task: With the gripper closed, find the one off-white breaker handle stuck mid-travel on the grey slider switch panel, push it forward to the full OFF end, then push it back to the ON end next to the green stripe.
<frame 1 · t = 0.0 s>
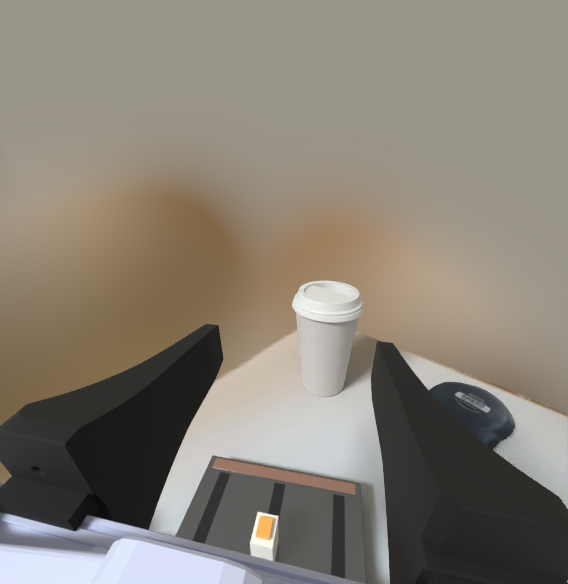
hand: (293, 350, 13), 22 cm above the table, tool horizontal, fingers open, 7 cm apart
coffee cup: (322, 382, 43), on the table
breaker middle: (265, 540, 21), point 4 cm above the table, slide at 4.0 cm
grey slider switch panel: (266, 569, 22), on the table
electronic device: (454, 429, 35), on the table
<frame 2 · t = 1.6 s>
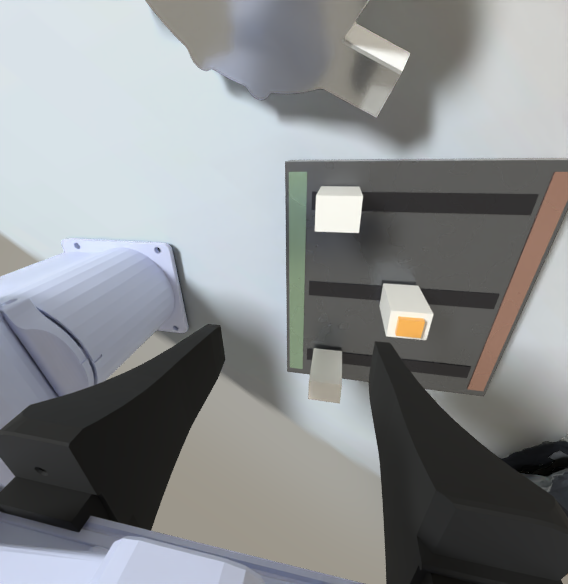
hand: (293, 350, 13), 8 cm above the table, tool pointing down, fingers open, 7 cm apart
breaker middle: (403, 311, 15), point 4 cm above the table, slide at 4.0 cm
grey slider switch panel: (392, 280, 19), on the table
electronic device: (556, 488, 26), on the table
breaker 2: (338, 207, 14), point 4 cm above the table, slide at 0.0 cm
breaker 1: (325, 374, 19), point 4 cm above the table, slide at 0.0 cm
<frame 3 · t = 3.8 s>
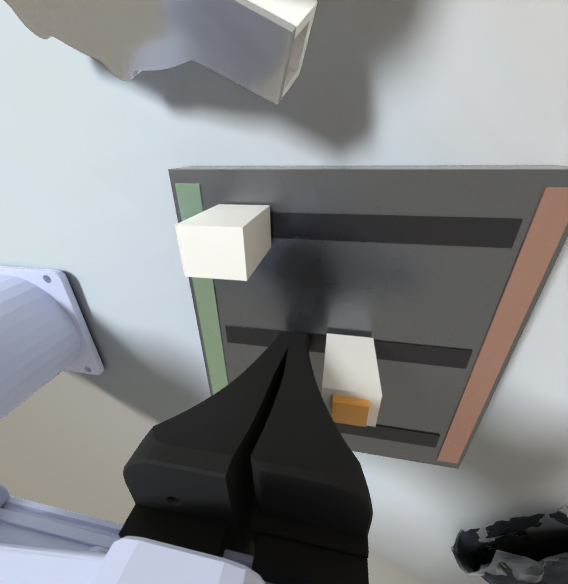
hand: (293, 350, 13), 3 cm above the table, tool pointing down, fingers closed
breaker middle: (348, 377, 11), point 4 cm above the table, slide at 4.4 cm, touching gripper
grey slider switch panel: (339, 321, 15), on the table
electronic device: (549, 557, 22), on the table
breaker 2: (231, 237, 9), point 4 cm above the table, slide at 0.0 cm
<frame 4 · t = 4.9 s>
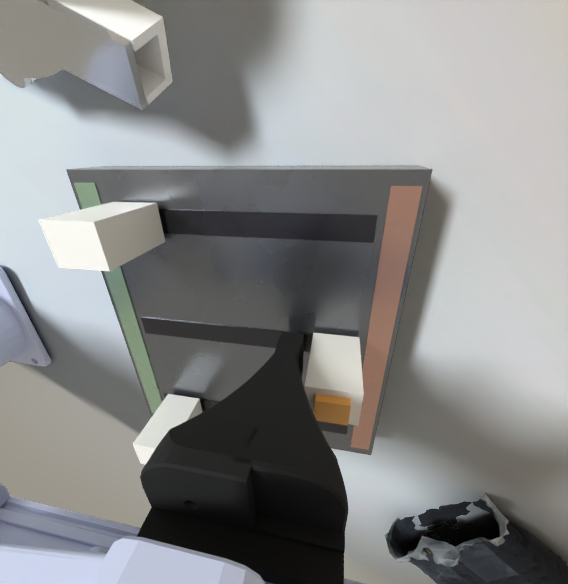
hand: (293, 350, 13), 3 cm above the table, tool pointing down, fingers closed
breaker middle: (333, 376, 11), point 4 cm above the table, slide at 8.4 cm, touching gripper
grey slider switch panel: (255, 314, 15), on the table
electronic device: (484, 545, 22), on the table
breaker 2: (111, 232, 10), point 4 cm above the table, slide at 0.0 cm
breaker 1: (171, 429, 15), point 4 cm above the table, slide at 0.0 cm
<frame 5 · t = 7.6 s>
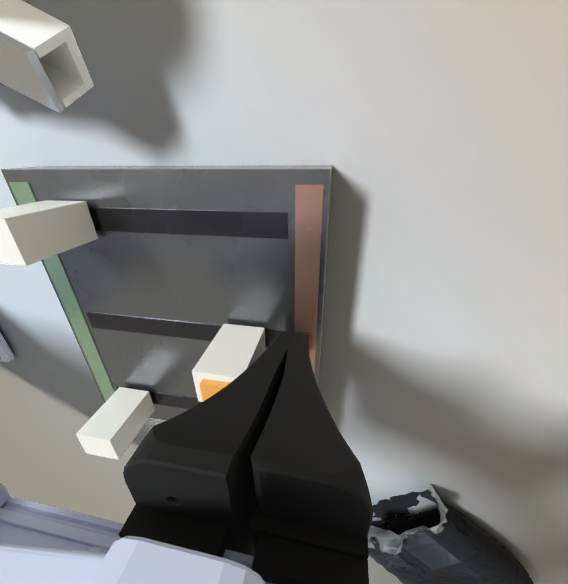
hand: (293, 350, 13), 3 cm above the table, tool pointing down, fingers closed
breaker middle: (232, 364, 12), point 4 cm above the table, slide at 7.4 cm, touching gripper
grey slider switch panel: (200, 309, 16), on the table
electronic device: (437, 536, 23), on the table
breaker 2: (37, 229, 11), point 4 cm above the table, slide at 0.0 cm
breaker 1: (119, 420, 16), point 4 cm above the table, slide at 0.0 cm
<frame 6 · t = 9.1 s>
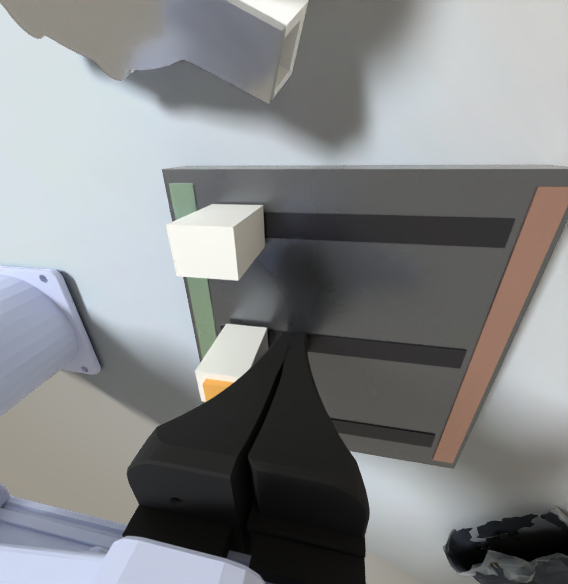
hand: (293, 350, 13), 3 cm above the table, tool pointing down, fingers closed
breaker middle: (235, 364, 12), point 4 cm above the table, slide at -0.1 cm, touching gripper
grey slider switch panel: (334, 321, 15), on the table
electronic device: (539, 557, 22), on the table
breaker 2: (223, 237, 9), point 4 cm above the table, slide at 0.0 cm
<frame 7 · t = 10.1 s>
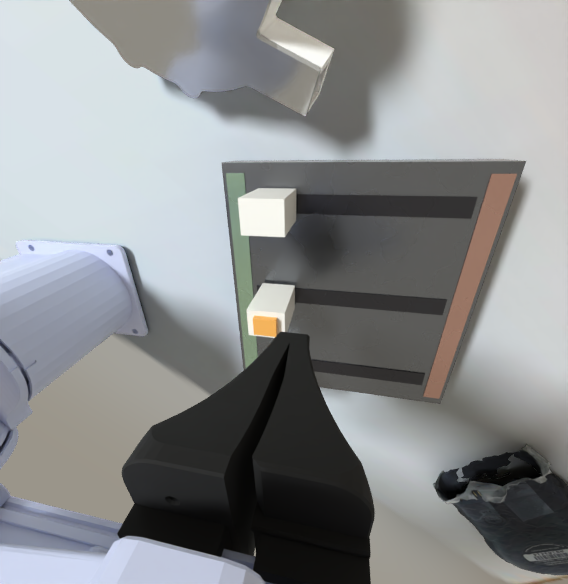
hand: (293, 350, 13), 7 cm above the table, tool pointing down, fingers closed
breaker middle: (272, 310, 16), point 4 cm above the table, slide at -0.1 cm
grey slider switch panel: (345, 284, 18), on the table
electronic device: (516, 497, 25), on the table
breaker 2: (270, 210, 13), point 4 cm above the table, slide at 0.0 cm
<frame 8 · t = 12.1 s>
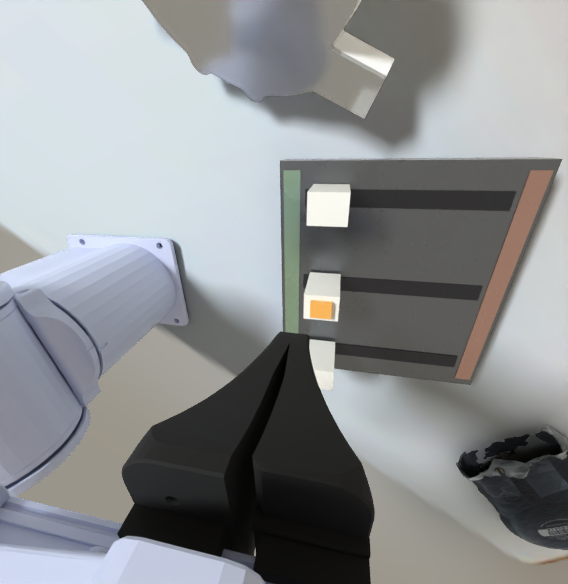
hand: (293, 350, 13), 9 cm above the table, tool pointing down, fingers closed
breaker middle: (322, 296, 17), point 4 cm above the table, slide at -0.1 cm
grey slider switch panel: (383, 274, 20), on the table
electronic device: (531, 477, 27), on the table
breaker 2: (329, 203, 15), point 4 cm above the table, slide at 0.0 cm
breaker 1: (319, 363, 20), point 4 cm above the table, slide at 0.0 cm
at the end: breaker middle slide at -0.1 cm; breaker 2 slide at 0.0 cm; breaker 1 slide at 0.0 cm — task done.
